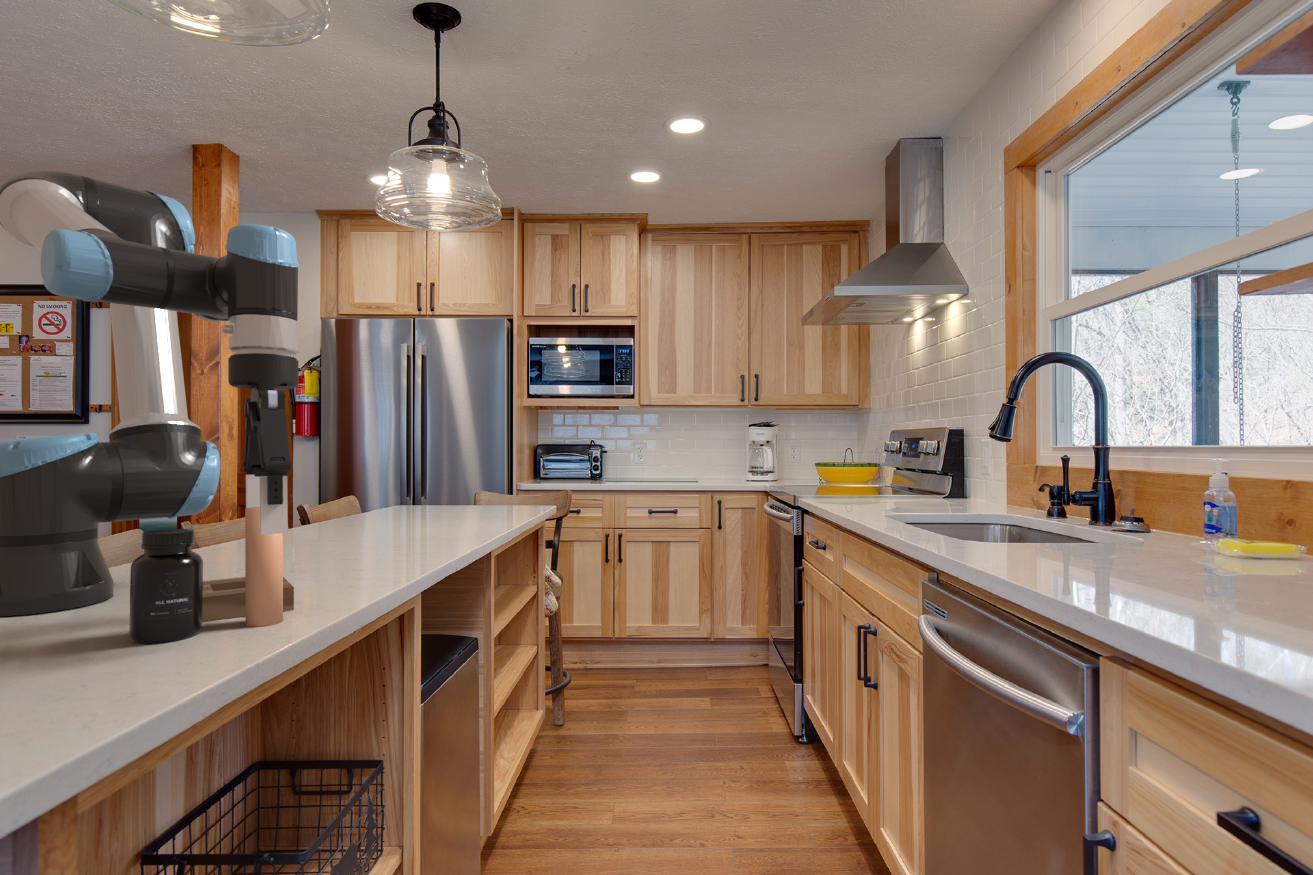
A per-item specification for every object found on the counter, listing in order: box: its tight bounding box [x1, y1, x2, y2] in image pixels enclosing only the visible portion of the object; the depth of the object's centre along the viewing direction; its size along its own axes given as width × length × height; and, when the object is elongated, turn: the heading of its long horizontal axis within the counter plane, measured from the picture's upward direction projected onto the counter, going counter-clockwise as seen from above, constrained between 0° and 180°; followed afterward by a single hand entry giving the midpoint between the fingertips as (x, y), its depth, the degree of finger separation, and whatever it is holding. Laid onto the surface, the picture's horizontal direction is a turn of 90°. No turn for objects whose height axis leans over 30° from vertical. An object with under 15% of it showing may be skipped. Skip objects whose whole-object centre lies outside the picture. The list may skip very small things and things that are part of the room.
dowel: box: [244, 507, 284, 628], centre depth 86 cm, size 4×4×14 cm
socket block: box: [202, 576, 295, 623], centre depth 93 cm, size 12×12×3 cm
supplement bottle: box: [129, 528, 204, 644], centre depth 80 cm, size 7×7×12 cm
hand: (265, 529), depth 85 cm, fingers open, 13 cm apart
